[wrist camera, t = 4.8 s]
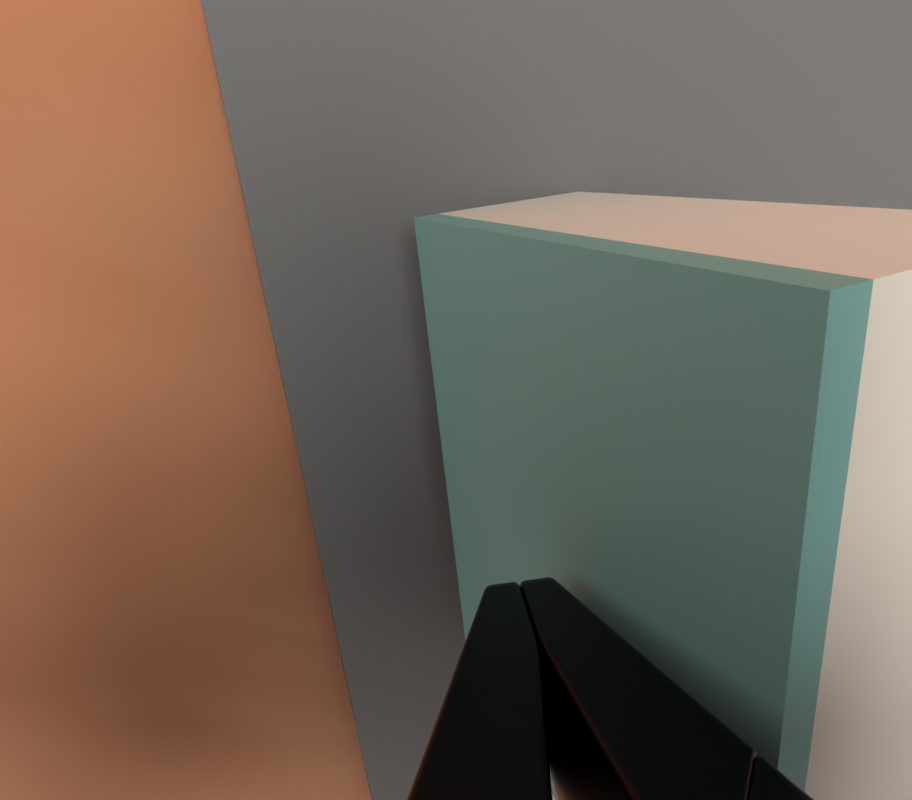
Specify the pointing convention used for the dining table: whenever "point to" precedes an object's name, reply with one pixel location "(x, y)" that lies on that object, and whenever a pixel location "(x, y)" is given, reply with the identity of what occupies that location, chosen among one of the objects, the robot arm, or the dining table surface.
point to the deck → (696, 449)
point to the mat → (483, 184)
